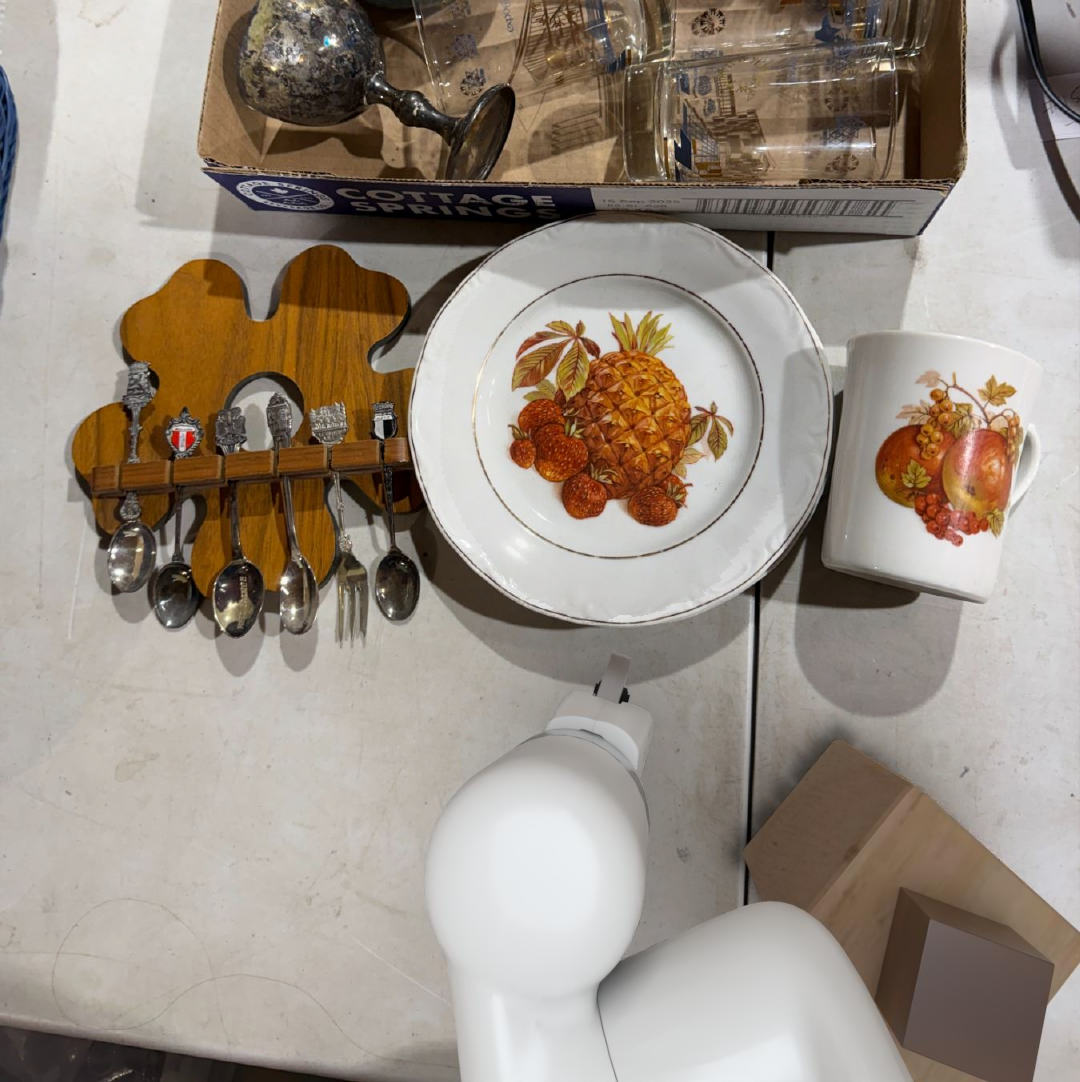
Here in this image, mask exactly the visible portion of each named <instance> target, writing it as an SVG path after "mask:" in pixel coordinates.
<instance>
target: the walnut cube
mask: <svg viewBox="0 0 1080 1082" xmlns="http://www.w3.org/2000/svg"><path fill="white" fill-rule="evenodd" d="M1054 967H1055V965H1054V964H1053V963H1052V962H1051V961H1050V960H1049V959H1048V958H1046V957H1045V956H1044V955H1043V954H1042V953H1040V952H1039V951H1038V950H1037V949H1036V948H1035V947H1033V946H1032V945H1031V944H1030V943H1029V942H1028V941H1026V940H1025V939H1024V938H1023V937H1022V936H1020V935H1019V934H1018V933H1017V932H1016V931H1015V930H1013V929H1012V928H1011V927H1009V926H1006V925H1003V924H1001V923H998V922H995V921H992V920H990V919H987V918H984V917H982V916H979V915H976V914H974V913H971V912H968V911H965V910H963V909H960V908H957V907H955V906H952V905H949V904H946V903H944V902H941V901H938V900H936V899H933V898H930V897H927V896H925V895H922V894H919V893H917V892H914V891H911V890H909V889H906V888H903V887H900V890H899V894H898V899H897V903H896V908H895V912H894V916H893V921H892V925H891V930H890V934H889V939H888V943H887V948H886V952H885V956H884V961H883V965H882V970H881V974H880V979H879V983H878V987H877V992H876V996H875V1003H876V1005H877V1006H878V1008H879V1010H880V1011H881V1013H882V1015H883V1016H884V1018H885V1020H886V1021H887V1023H888V1025H889V1027H890V1028H891V1030H892V1032H893V1033H894V1035H895V1037H896V1038H897V1040H898V1042H899V1043H900V1045H901V1047H902V1048H904V1049H907V1050H909V1051H912V1052H914V1053H917V1054H919V1055H922V1056H924V1057H927V1058H929V1059H932V1060H934V1061H937V1062H939V1063H942V1064H944V1065H947V1066H950V1067H952V1068H955V1069H957V1070H960V1071H962V1072H965V1073H967V1074H970V1075H972V1076H975V1077H977V1078H980V1079H982V1080H985V1081H987V1082H1034V1077H1035V1070H1036V1066H1037V1060H1038V1055H1039V1051H1040V1045H1041V1039H1042V1035H1043V1029H1044V1024H1045V1019H1046V1015H1047V1009H1048V1005H1047V1003H1048V998H1049V993H1050V988H1051V982H1052V977H1053V972H1054Z"/></svg>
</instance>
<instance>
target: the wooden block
mask: <svg viewBox="0 0 1080 1082" xmlns="http://www.w3.org/2000/svg"><path fill="white" fill-rule="evenodd" d="M742 855H743V859H744V860H745V864H746V865H747V868H748V870H749V873H750V876H751V878H752V880H753V883H754V885H755V888H756V891H757V893H758V895H759V898H760V900H761V901H760V902H766V901H775V902H784V903H787V904H791V905H794V906H796V907H798V908H800V909H802V910H804V911H806V912H807V913H809V914H810V915H811V916H813V917H814V918H815V919H817V920H818V921H819V922H820V923H821V924H822V925H823V926H824V927H825V928H826V929H827V930H828V931H829V932H830V933H831V934H832V935H833V936H834V938H835V939H836V940H837V942H838V943H839V944H840V945H841V947H842V948H843V950H844V951H845V953H846V954H847V956H848V958H849V959H850V961H851V962H852V964H853V966H854V967H855V969H856V971H857V972H858V974H859V975H860V977H861V979H862V980H863V982H864V984H865V985H866V987H867V989H868V991H869V993H870V995H871V997H872V999H873V1001H874V1003H875V996H876V992H877V987H878V983H879V979H880V974H881V970H882V965H883V961H884V956H885V952H886V948H887V943H888V939H889V934H890V930H891V925H892V921H893V916H894V912H895V908H896V903H897V899H898V894H899V890H900V887H903V888H906V889H909V890H911V891H914V892H917V893H919V894H922V895H925V896H927V897H930V898H933V899H936V900H938V901H941V902H944V903H946V904H949V905H952V906H955V907H957V908H960V909H963V910H965V911H968V912H971V913H974V914H976V915H979V916H982V917H984V918H987V919H990V920H992V921H995V922H998V923H1001V924H1003V925H1006V926H1009V927H1011V928H1012V929H1013V930H1015V931H1016V932H1017V933H1018V934H1019V935H1020V936H1022V937H1023V938H1024V939H1025V940H1026V941H1028V942H1029V943H1030V944H1031V945H1032V946H1033V947H1035V948H1036V949H1037V950H1038V951H1039V952H1040V953H1042V954H1043V955H1044V956H1045V957H1046V958H1048V959H1049V960H1050V961H1051V962H1052V963H1053V964H1054V965H1055V967H1054V972H1053V977H1052V982H1051V988H1050V993H1049V998H1048V1003H1047V1006H1048V1005H1049V1004H1050V1002H1051V1001H1052V1000H1053V999H1054V997H1055V996H1056V995H1057V993H1058V992H1059V991H1060V990H1061V988H1062V987H1063V986H1064V984H1065V983H1066V981H1067V980H1068V979H1069V977H1071V975H1072V974H1073V973H1074V972H1075V970H1076V969H1077V968H1078V966H1079V965H1080V931H1079V930H1078V929H1077V928H1076V927H1075V926H1074V925H1073V924H1072V923H1071V922H1069V920H1068V919H1066V918H1065V917H1064V916H1063V915H1061V913H1060V912H1058V911H1057V910H1056V909H1055V908H1054V907H1053V906H1052V905H1051V904H1049V903H1048V902H1047V901H1046V899H1044V898H1043V897H1042V896H1041V895H1039V894H1038V892H1036V891H1035V890H1034V889H1033V888H1032V887H1030V885H1029V884H1027V883H1026V882H1025V881H1024V880H1023V879H1022V878H1021V877H1019V876H1018V875H1017V874H1016V873H1015V872H1014V871H1013V870H1012V869H1011V868H1010V867H1008V866H1007V865H1006V864H1005V863H1004V862H1003V861H1002V860H1001V859H1000V858H998V856H996V854H994V853H993V852H992V851H991V850H990V849H988V847H986V846H985V845H984V844H983V843H982V842H981V841H980V840H979V839H977V837H975V836H974V835H973V834H972V833H971V832H970V831H969V830H968V829H966V828H965V826H963V825H962V824H961V823H960V822H958V820H956V818H954V817H953V816H952V815H951V814H950V813H949V812H948V811H947V810H946V809H944V808H943V806H941V805H939V803H937V801H936V800H934V798H932V797H931V796H930V795H928V793H926V791H924V790H923V789H922V788H921V787H920V786H918V785H917V784H915V783H914V782H912V781H910V780H909V779H907V778H906V777H904V776H902V775H901V774H899V773H897V772H895V771H894V770H892V769H890V768H889V767H887V766H885V765H884V764H882V763H881V762H879V761H877V760H875V758H872V757H871V756H869V755H867V754H866V753H864V752H863V751H861V750H859V749H858V748H856V747H855V746H852V745H851V744H850V743H848V742H846V741H845V740H843V739H840V738H837V739H835V740H833V741H832V742H831V743H830V744H829V745H828V747H827V748H826V749H825V750H824V752H822V754H820V756H819V757H818V758H817V760H816V761H815V762H814V763H813V765H812V766H811V767H810V768H809V769H808V770H807V772H806V773H805V774H804V776H803V777H802V778H800V780H799V782H798V783H797V784H796V785H795V786H794V788H792V790H791V791H790V793H789V794H788V795H787V796H786V797H785V798H784V800H783V801H782V802H781V803H780V804H779V805H778V807H777V808H776V809H775V810H774V812H773V813H772V814H771V815H770V816H769V818H768V819H767V820H766V821H765V822H764V823H763V825H762V826H761V828H759V829H758V831H757V832H756V833H755V835H753V837H752V838H751V840H750V841H749V842H748V843H747V845H745V846H744V848H743V852H742ZM875 1005H876V1003H875ZM876 1007H877V1009H878V1011H879V1013H880V1015H881V1017H882V1018H883V1020H884V1022H885V1024H886V1026H887V1028H888V1031H889V1033H890V1035H891V1037H892V1039H893V1041H894V1043H895V1045H896V1047H897V1049H898V1051H899V1053H900V1055H901V1057H902V1059H903V1061H904V1063H905V1065H906V1067H907V1069H908V1071H909V1073H910V1075H911V1077H912V1079H913V1081H914V1082H987V1081H985V1080H982V1079H980V1078H977V1077H975V1076H972V1075H970V1074H967V1073H965V1072H962V1071H960V1070H957V1069H955V1068H952V1067H950V1066H947V1065H944V1064H942V1063H939V1062H937V1061H934V1060H932V1059H929V1058H927V1057H924V1056H922V1055H919V1054H917V1053H914V1052H912V1051H909V1050H907V1049H904V1048H902V1047H901V1045H900V1043H899V1042H898V1040H897V1038H896V1037H895V1035H894V1033H893V1032H892V1030H891V1028H890V1027H889V1025H888V1023H887V1021H886V1020H885V1018H884V1016H883V1015H882V1013H881V1011H880V1010H879V1008H878V1006H877V1005H876Z"/></svg>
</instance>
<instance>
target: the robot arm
mask: <svg viewBox="0 0 1080 1082" xmlns="http://www.w3.org/2000/svg"><path fill="white" fill-rule="evenodd" d="M632 662H633V657H630V656H628V655H625V654H621V653H618V652H616V651H612V652H611V654H610V657H609V659H608V661H607V665H606V668H605V670H604V673H603V675H602V678H601V679H600V681H598V682H596V683H595V685H594V688H593V691H592V690H589V689H586V688H577V689H573V690H572V691H570V692H569V693H567V694H566V695H565V696H564V697H563V699H562V700H561V701H560V703H559V704H558V706H557V707H556V708H555V711H554V712H553V713H552V715H551V717H549V719H548V720H547V723H546V726H545V727H544V729H543V732H540V733H537V734H534V735H532V736H530V737H529V738H526V739H525V740H524V741H522V742H520V743H519V744H517V745H515V746H514V747H513V748H512V749H510V750H509V751H507V752H506V753H504V754H503V755H502V756H500V757H498V759H496V760H494V761H493V762H491V763H489V764H488V765H487V766H486V767H483V768H482V769H481V770H479V771H478V772H477V773H475V774H474V775H472V776H471V777H470V778H469V779H468V780H466V782H464V784H462V785H461V786H460V787H459V788H458V790H456V792H455V793H454V794H453V795H452V796H451V797H450V799H449V800H448V801H447V803H446V804H445V806H444V807H443V809H442V810H441V812H440V813H439V816H438V817H437V819H436V821H435V823H434V827H433V829H432V832H431V834H430V836H429V840H428V844H427V848H426V851H425V852H426V853H425V855H424V856H425V857H424V864H423V895H424V903H425V907H426V912H427V916H428V921H429V923H430V926H431V928H432V930H433V933H434V937H435V939H436V941H437V942H438V944H439V946H440V947H441V949H442V951H443V955H444V959H445V960H444V962H445V967H446V974H447V975H446V976H447V981H448V982H447V983H448V989H449V996H450V1004H451V1010H452V1018H453V1025H454V1026H453V1027H454V1033H455V1040H456V1049H457V1057H458V1065H459V1073H460V1074H459V1075H460V1082H914V1081H913V1079H912V1077H911V1075H910V1073H909V1071H908V1069H907V1067H906V1065H905V1063H904V1061H903V1059H902V1057H901V1055H900V1053H899V1051H898V1049H897V1047H896V1045H895V1043H894V1041H893V1039H892V1037H891V1035H890V1033H889V1031H888V1028H887V1026H886V1024H885V1022H884V1020H883V1018H882V1017H881V1015H880V1013H879V1011H878V1009H877V1007H876V1005H875V1003H874V1001H873V999H872V997H871V995H870V993H869V991H868V989H867V987H866V985H865V984H864V982H863V980H862V979H861V977H860V975H859V974H858V972H857V971H856V969H855V967H854V966H853V964H852V962H851V961H850V959H849V958H848V956H847V954H846V953H845V951H844V950H843V948H842V947H841V945H840V944H839V943H838V942H837V940H836V939H835V938H834V936H833V935H832V934H831V933H830V932H829V931H828V930H827V929H826V928H825V927H824V926H823V925H822V924H821V923H820V922H819V921H818V920H817V919H815V918H814V917H813V916H811V915H810V914H809V913H807V912H806V911H804V910H802V909H800V908H798V907H796V906H794V905H791V904H787V903H784V902H775V901H766V902H762V901H758V902H753V903H750V904H749V903H748V904H746V905H743V906H742V905H741V906H740V907H737V908H734V909H733V910H730V911H727V912H725V913H723V914H720V915H717V916H715V917H712V918H710V919H708V920H706V921H703V922H701V923H699V924H697V925H695V926H692V927H690V928H688V929H687V928H686V929H685V930H683V931H681V932H679V933H676V934H675V935H673V936H670V937H668V938H666V939H664V940H662V941H660V942H657V943H656V944H653V945H651V946H649V947H647V948H644V949H643V950H640V951H638V952H636V953H634V954H632V955H630V956H628V957H625V958H623V957H624V955H625V954H626V952H627V951H628V949H629V947H630V946H631V943H632V941H633V939H634V936H635V934H636V931H637V928H638V926H639V923H640V920H641V917H642V912H643V908H644V902H645V896H646V887H647V886H646V884H647V869H648V856H649V844H650V843H649V840H650V831H651V829H650V828H651V827H650V826H651V814H650V805H649V800H648V797H647V794H646V793H647V792H646V790H645V787H644V784H643V782H642V778H643V774H644V769H645V764H646V760H647V756H648V752H649V748H650V744H651V740H652V736H653V731H654V727H655V723H654V722H655V721H654V719H653V716H652V714H651V712H650V711H648V710H646V709H644V708H642V707H640V706H637V705H635V704H632V703H629V702H630V701H629V700H630V698H631V694H629V688H628V687H626V683H627V680H628V678H629V677H628V676H629V674H630V669H631V666H632ZM622 958H623V959H622Z"/></svg>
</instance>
